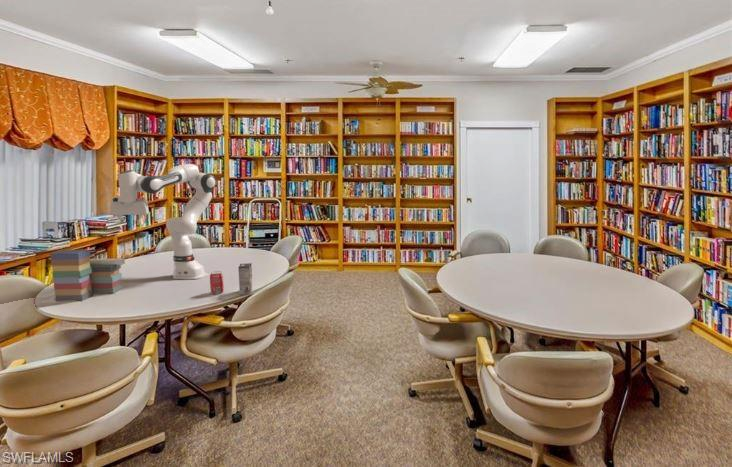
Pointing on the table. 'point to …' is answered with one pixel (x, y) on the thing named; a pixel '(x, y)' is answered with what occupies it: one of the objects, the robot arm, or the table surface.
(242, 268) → the coffee box
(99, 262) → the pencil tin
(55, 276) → the tall book stack
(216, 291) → the soda can
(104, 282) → the short book stack
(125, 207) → the robot arm
